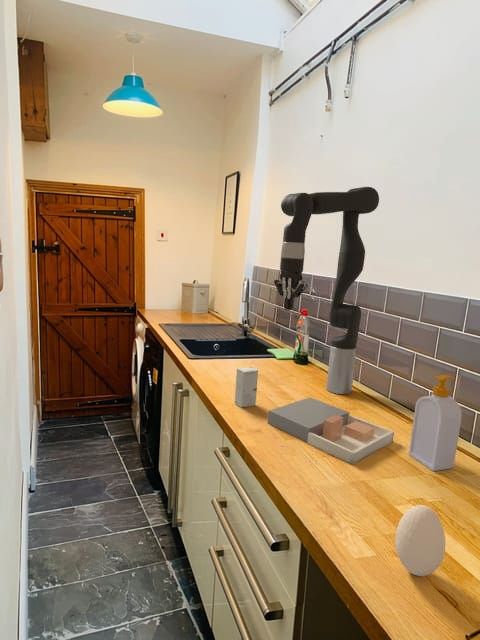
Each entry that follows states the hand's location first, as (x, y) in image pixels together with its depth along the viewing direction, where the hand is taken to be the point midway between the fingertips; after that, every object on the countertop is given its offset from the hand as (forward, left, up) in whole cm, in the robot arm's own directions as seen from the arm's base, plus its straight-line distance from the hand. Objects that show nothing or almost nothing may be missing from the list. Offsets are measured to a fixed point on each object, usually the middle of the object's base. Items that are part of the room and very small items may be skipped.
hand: (288, 309), depth 136 cm
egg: (+40, +65, -32) cm, 83 cm away
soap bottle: (-1, +51, -32) cm, 60 cm away
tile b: (+11, +27, -28) cm, 41 cm away
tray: (+7, +32, -32) cm, 46 cm away
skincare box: (+12, -5, -32) cm, 35 cm away
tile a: (+2, +32, -29) cm, 43 cm away
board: (+7, +18, -32) cm, 37 cm away
